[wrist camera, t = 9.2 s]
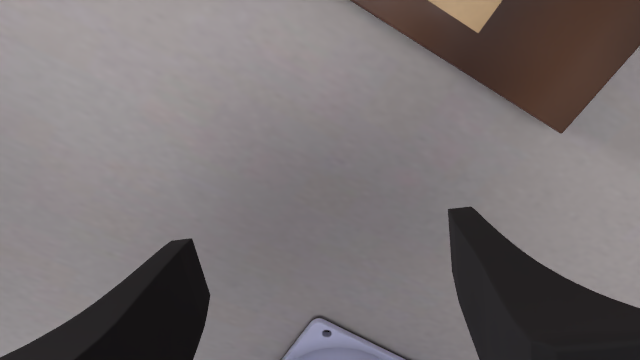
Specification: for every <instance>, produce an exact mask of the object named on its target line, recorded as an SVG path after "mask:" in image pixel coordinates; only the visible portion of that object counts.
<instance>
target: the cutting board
mask: <svg viewBox="0 0 640 360" xmlns="http://www.w3.org/2000/svg"><path fill="white" fill-rule="evenodd" d="M350 1H352V2H354V3H355V4H357V5H358V6H360V7H362V8H363V9H365V10H366V11H368V12H369V13H371V14H373V15H374V16H376V17H377V18H379V19H380V20H382V21H384V22H385V23H387V24H388V25H390V26H392V27H393V28H395V29H396V30H398V31H399V32H401V33H403V34H404V35H406V36H407V37H409V38H410V39H412V40H414V41H415V42H417V43H418V44H420V45H422V46H423V47H425V48H426V49H428V50H429V51H431V52H433V53H434V54H436V55H437V56H439V57H440V58H442V59H444V60H445V61H447V62H448V63H450V64H452V65H453V66H455V67H456V68H458V69H459V70H461V71H463V72H464V73H466V74H467V75H469V76H470V77H472V78H474V79H475V80H477V81H478V82H480V83H482V84H483V85H485V86H486V87H488V88H489V89H491V90H493V91H494V92H496V93H497V94H499V95H500V96H502V97H504V98H505V99H507V100H508V101H510V102H512V103H513V104H515V105H516V106H518V107H519V108H521V109H523V110H524V111H526V112H527V113H529V114H530V115H532V116H534V117H535V118H537V119H538V120H540V121H542V122H543V123H545V124H546V125H548V126H549V127H551V128H553V129H554V130H556V131H557V132H559V133H563V132H564V131H565V130H566V128H567V127H568V126H569V125H570V124H571V123H572V122H573V120H574V119H575V118H576V117H577V116H578V115H579V114H580V113H581V111H582V110H583V109H584V108H585V107H586V106H587V105H588V103H589V102H590V101H591V100H592V99H593V98H594V97H595V96H596V94H597V93H598V92H599V91H600V90H601V89H602V88H603V86H604V85H605V84H606V83H607V82H608V81H609V80H610V79H611V77H612V76H613V75H614V74H615V73H616V72H617V71H618V69H619V68H620V67H621V66H622V65H623V64H624V63H625V62H626V60H627V59H628V58H629V57H630V56H631V55H632V54H633V52H634V51H635V50H636V49H637V48H638V47H639V46H640V0H350Z"/></svg>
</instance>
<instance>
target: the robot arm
mask: <svg viewBox="0 0 640 360" xmlns="http://www.w3.org/2000/svg"><path fill="white" fill-rule="evenodd" d="M448 217H449V232H450V247H451V261H452V273H453V277H454V282H455V287H456V291H457V295H458V300H459V304H460V306H461V309H462V312H463V315H464V318H465V321H466V323H467V326H468V329H469V332H470V334H471V337H472V340H473V343H474V346H475V348H476V351H477V354H478V357H479V359H480V360H640V308H637V307H634V306H631V305H628V304H625V303H622V302H620V301H617V300H614V299H611V298H609V297H606V296H604V295H601V294H599V293H596V292H594V291H592V290H589V289H587V288H585V287H583V286H581V285H579V284H576V283H574V282H572V281H570V280H568V279H566V278H564V277H563V276H561V275H559V274H557V273H556V272H554V271H552V270H550V269H549V268H547V267H545V266H544V265H542V264H540V263H539V262H537V261H536V260H534V259H533V258H531V257H530V256H529V255H527V254H526V253H524V252H523V251H522V250H520V249H519V248H518V247H516V246H515V245H514V244H513V243H511V242H510V241H509V240H508V239H507V238H505V237H504V236H503V235H502V234H501V233H499V232H498V231H497V230H496V229H495V228H494V227H493V226H492V225H491V224H489V223H488V222H487V221H486V220H485V219H484V218H483V217H482V216H481V215H480V214H479V213H478V212H477V211H476V210H475V209H473V208H472V207H463V208H455V209H448ZM209 300H210V293H209V290H208V287H207V283H206V280H205V277H204V274H203V271H202V268H201V265H200V262H199V259H198V255H197V252H196V249H195V246H194V243H193V240H192V239H183V240H175V241H171V242H169V243H168V244H167V245H165V246H164V247H163V248H161V249H160V250H159V251H158V252H156V253H155V254H154V255H153V256H152V257H151V258H149V259H148V260H147V261H146V262H145V263H144V264H142V265H141V266H140V267H139V268H138V269H136V270H135V271H134V272H133V273H132V274H131V275H129V276H128V277H127V278H126V279H125V280H123V281H122V282H121V283H120V284H118V285H117V286H116V287H115V288H113V289H112V290H111V291H109V292H108V293H107V294H106V295H104V296H103V297H102V298H100V299H99V300H98V301H97V302H95V303H94V304H93V305H91V306H90V307H88V308H87V309H85V310H84V311H83V312H81V313H80V314H78V315H76V316H75V317H73V318H72V319H70V320H69V321H67V322H66V323H64V324H62V325H61V326H59V327H57V328H56V329H54V330H52V331H50V332H49V333H47V334H45V335H43V336H42V337H40V338H38V339H36V340H34V341H33V342H31V343H29V344H27V345H25V346H23V347H21V348H19V349H17V350H15V351H13V352H11V353H9V354H7V355H5V356H3V357H0V360H193V358H194V355H195V353H196V350H197V347H198V344H199V341H200V338H201V335H202V332H203V329H204V326H205V321H206V316H207V311H208V306H209ZM324 330H329V331H330V332H324ZM282 360H405V359H403V358H401V357H399V356H397V355H395V354H393V353H391V352H389V351H387V350H385V349H383V348H381V347H379V346H377V345H375V344H373V343H371V342H369V341H367V340H365V339H363V338H361V337H359V336H357V335H355V334H352V333H350V332H348V331H346V330H344V329H342V328H340V327H338V326H336V325H334V324H332V323H330V322H328V321H326V320H324V319H321V318H317V319H314V320H312V321H311V322H310V324H309V325H308V326H307V328H306V329H305V330H304V331H303V333H302V334H301V335H300V337H299V338H298V339H297V340H296V342H295V343H294V344H293V346H292V347H291V348H290V349H289V351H288V352H287V353H286V355H285V356H284V357H283V358H282Z"/></svg>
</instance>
